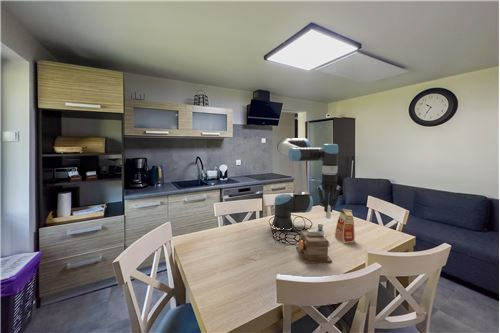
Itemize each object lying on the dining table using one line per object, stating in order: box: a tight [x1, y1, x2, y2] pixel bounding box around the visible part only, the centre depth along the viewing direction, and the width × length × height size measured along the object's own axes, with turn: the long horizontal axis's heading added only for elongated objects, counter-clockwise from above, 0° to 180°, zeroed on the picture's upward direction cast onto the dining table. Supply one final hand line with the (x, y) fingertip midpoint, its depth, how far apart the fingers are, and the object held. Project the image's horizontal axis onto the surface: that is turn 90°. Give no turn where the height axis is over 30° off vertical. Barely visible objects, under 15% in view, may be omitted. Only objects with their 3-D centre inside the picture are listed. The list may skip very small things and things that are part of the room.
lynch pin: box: [298, 239, 331, 250], centre depth 116 cm, size 5×16×5 cm, turn 94°
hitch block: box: [295, 229, 333, 265], centre depth 116 cm, size 16×14×11 cm
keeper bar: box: [306, 223, 325, 237], centre depth 116 cm, size 3×8×6 cm, turn 94°
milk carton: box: [334, 208, 356, 244], centre depth 136 cm, size 9×9×20 cm
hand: (328, 217), depth 115 cm, fingers closed
